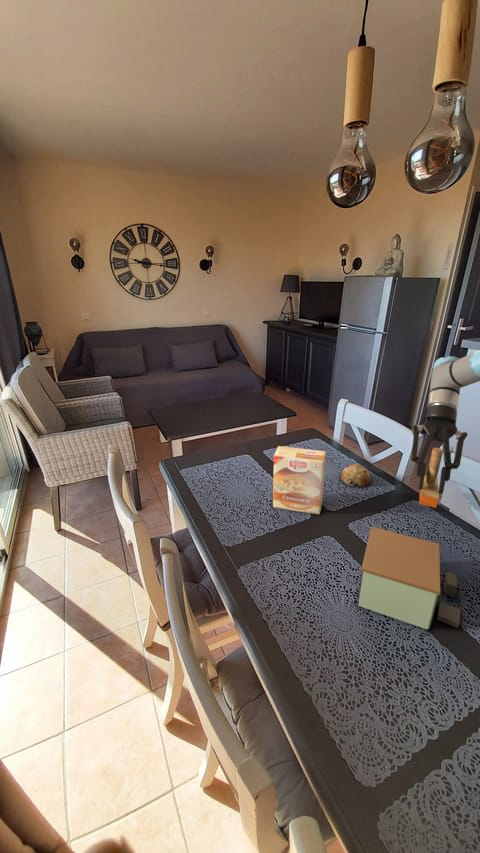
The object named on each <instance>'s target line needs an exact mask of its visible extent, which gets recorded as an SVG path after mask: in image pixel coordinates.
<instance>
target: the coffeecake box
mask: <svg viewBox="0 0 480 853" xmlns="http://www.w3.org/2000/svg"><path fill="white" fill-rule="evenodd" d="M326 459H327V451H326V450H317V449H309V448H301V447H290V446H281V445H278V446H277V448H276V450H275V452H274V454H273V486H272V488H273V489H272V490H273V493H272V494H273V495H272V497H273V498H272V499H273V500H272V507H273V508H276V509H281V510H286V511H287V510H288V511H295V512H301V513H307V514H316V515H320V514H321V510H322V505H323V496H324V484H325V470H326Z"/></svg>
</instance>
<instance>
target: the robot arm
mask: <svg viewBox="0 0 480 853" xmlns="http://www.w3.org/2000/svg"><path fill="white" fill-rule="evenodd" d="M430 374H431V376H430V384H429V385H430V386H429V391H428V392H429V393H428V398H427V404H426V407H427V408H426V410H425V418H424V421H423V423H422V425H416V424H414V425H413V426H412V428H411V433H412V436H413V439H412V447H411V455H410V461H411V462H413V463H416V472H415V475H416V476H417V477H419V484H418V490H419V489H421V490H422V488H423V483H424V476H425V475H426V469H427V468H426V467H427V463H425V462H424V461H425V459H426V457H427V454H428V452H429V449H430V447H431V444H432V442H440V443H441V446H442V450H443V454H442V456H443V463H444V466H442V468H441V470H440V477H439V484H438V489H439V494H443V493H444V489H445V482H449V481H450V479H451V473H452V470H457V469H459V467H460V466H461V462H462V454H463V448H464V441H465V440H466V438H467V437H468V432H466V431H463V432H462V431H460V430H459V429H458V427H457V417H458V410H459V401H460V392H461V388H464V387H468V386H470V385H473V384H477V383H479V382H480V348H479V349H477V350H476V351H474V352H471V353H470V354H467V355H465V356H463V357H460V358H459V357H456V356H452V355H451V356H450V355H449V356H446V357H443V356H442V357H439V358H438V359H436V360H435V361H434V362H433V367H432V371H431V373H430ZM422 431H423V432H424V434H425V435H426V437H427V438H426V441H425V443H424V446H423V448H422V451H421V453H420V455H419V456H418V448H419V440H420V434H421V433H422ZM453 436H455V439H456V440H457V441H456V444H455V445H456V447H455V451H454V457H453V462H452V456H451V449H450V439H451V438H452V437H453Z"/></svg>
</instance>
